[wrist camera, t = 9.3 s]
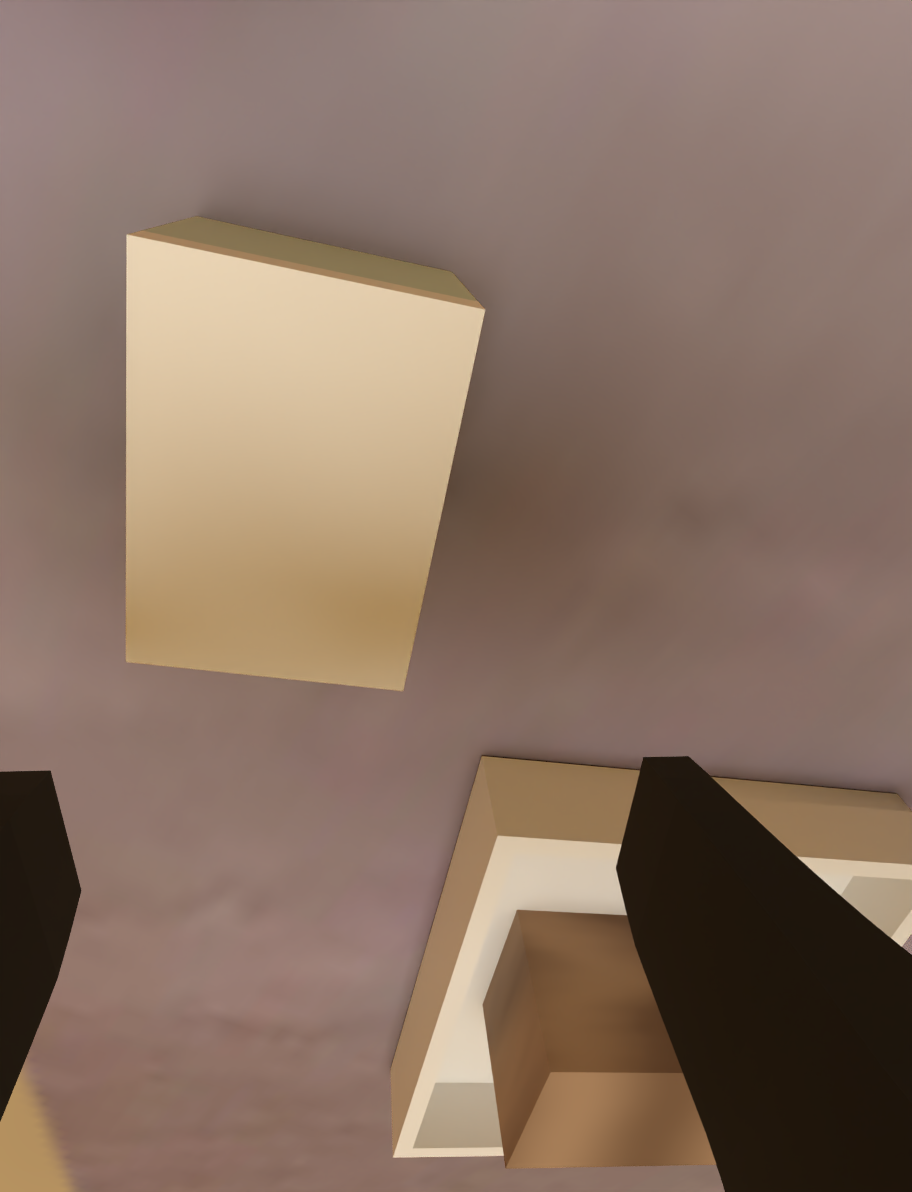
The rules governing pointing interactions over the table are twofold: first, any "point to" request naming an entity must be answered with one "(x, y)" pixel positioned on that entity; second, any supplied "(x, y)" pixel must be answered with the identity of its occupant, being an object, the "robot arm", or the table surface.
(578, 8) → the table surface
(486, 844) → the tote
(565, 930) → the walnut block
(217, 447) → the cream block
